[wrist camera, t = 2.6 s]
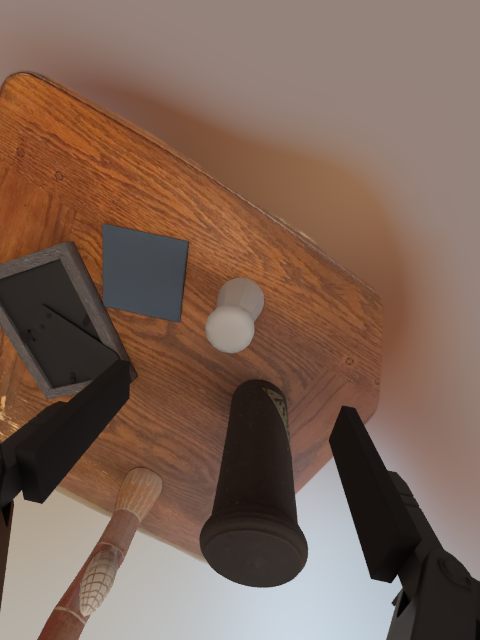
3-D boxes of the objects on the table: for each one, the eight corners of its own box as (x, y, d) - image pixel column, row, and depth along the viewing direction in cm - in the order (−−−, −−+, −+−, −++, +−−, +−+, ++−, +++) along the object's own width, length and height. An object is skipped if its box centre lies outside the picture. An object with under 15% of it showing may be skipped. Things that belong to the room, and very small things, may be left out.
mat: (189, 241, 31) (187, 241, 30) (180, 321, 35) (178, 322, 34) (105, 223, 31) (102, 223, 30) (105, 304, 35) (102, 306, 34)
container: (274, 431, 39) (282, 611, 21) (222, 412, 39) (183, 576, 20) (297, 390, 36) (331, 557, 18) (241, 369, 36) (215, 516, 17)
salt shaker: (243, 264, 31) (228, 285, 19) (273, 296, 32) (278, 335, 20) (212, 295, 33) (180, 332, 21) (241, 324, 34) (228, 376, 22)
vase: (151, 461, 45) (-44, 852, 16) (173, 488, 46) (30, 881, 18) (108, 476, 47) (-124, 837, 19) (130, 501, 49) (-52, 863, 21)
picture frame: (137, 375, 38) (73, 241, 32) (131, 383, 37) (61, 242, 30) (54, 393, 41) (-19, 273, 35) (44, 401, 40) (-35, 276, 33)
